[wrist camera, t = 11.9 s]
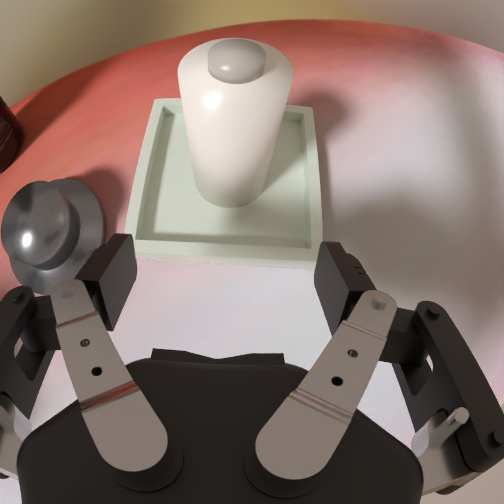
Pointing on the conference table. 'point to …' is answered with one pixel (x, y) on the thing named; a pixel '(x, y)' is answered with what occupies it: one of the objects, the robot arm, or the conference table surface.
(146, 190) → the tray
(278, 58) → the white knobbed cylinder
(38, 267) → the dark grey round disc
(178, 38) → the conference table surface
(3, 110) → the supplement bottle
